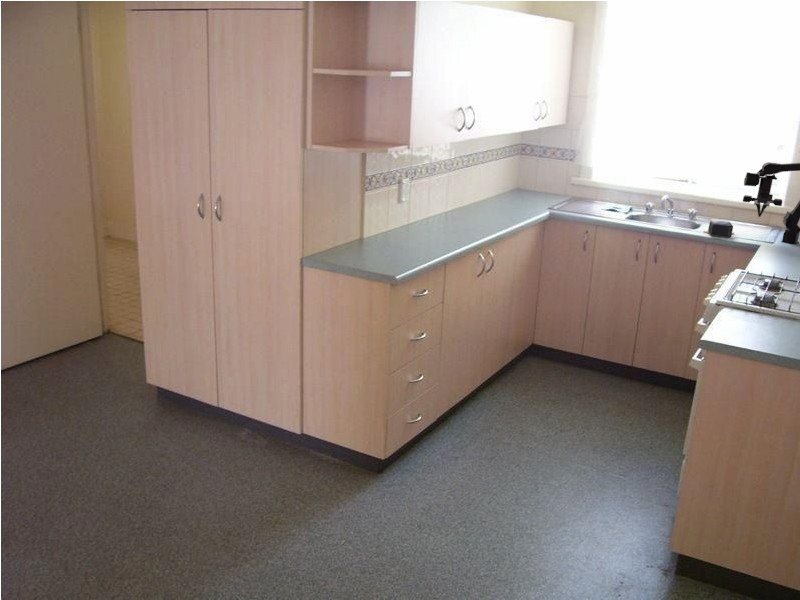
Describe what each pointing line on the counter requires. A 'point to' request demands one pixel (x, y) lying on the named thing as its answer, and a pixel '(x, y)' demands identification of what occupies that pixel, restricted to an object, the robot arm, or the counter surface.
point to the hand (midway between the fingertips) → (759, 216)
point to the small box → (720, 228)
